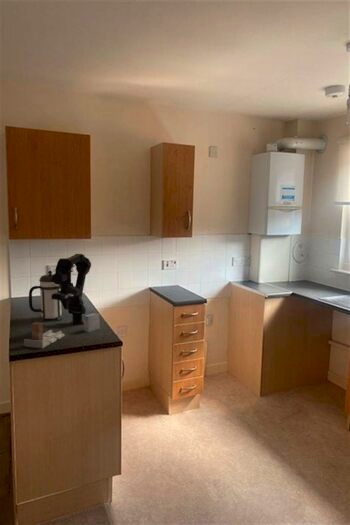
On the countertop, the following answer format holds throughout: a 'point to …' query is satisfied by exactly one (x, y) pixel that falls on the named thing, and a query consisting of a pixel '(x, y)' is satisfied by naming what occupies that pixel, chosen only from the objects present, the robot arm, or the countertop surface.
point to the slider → (37, 331)
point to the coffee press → (47, 298)
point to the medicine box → (91, 322)
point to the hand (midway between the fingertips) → (66, 309)
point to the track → (44, 339)
